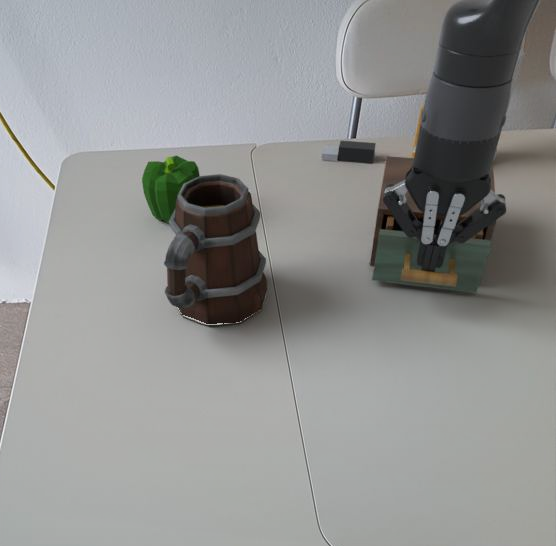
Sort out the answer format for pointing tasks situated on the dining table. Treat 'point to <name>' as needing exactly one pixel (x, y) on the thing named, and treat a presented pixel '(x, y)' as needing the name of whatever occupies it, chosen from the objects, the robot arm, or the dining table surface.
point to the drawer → (404, 269)
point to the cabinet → (396, 174)
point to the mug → (215, 252)
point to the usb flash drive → (350, 152)
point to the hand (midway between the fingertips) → (427, 267)
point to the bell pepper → (166, 184)
